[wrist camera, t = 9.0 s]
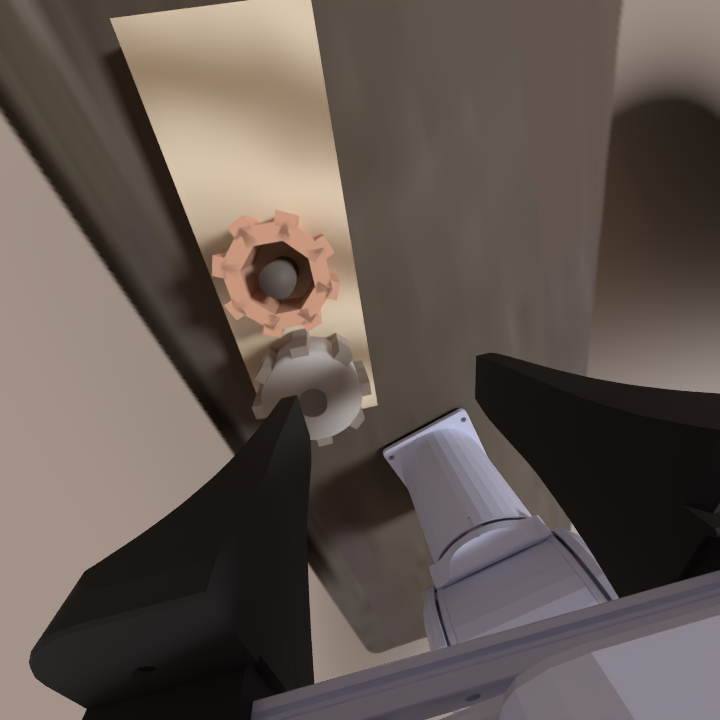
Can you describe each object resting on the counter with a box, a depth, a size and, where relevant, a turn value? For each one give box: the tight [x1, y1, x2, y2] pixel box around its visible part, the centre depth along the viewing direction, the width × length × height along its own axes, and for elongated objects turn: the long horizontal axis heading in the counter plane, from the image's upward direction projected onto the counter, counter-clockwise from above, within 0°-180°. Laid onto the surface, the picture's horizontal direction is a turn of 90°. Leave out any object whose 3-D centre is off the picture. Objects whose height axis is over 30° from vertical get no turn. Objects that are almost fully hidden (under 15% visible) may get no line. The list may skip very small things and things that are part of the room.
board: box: [110, 0, 377, 446], centre depth 15 cm, size 21×8×5 cm, turn 9°
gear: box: [212, 209, 340, 338], centre depth 15 cm, size 6×6×3 cm
